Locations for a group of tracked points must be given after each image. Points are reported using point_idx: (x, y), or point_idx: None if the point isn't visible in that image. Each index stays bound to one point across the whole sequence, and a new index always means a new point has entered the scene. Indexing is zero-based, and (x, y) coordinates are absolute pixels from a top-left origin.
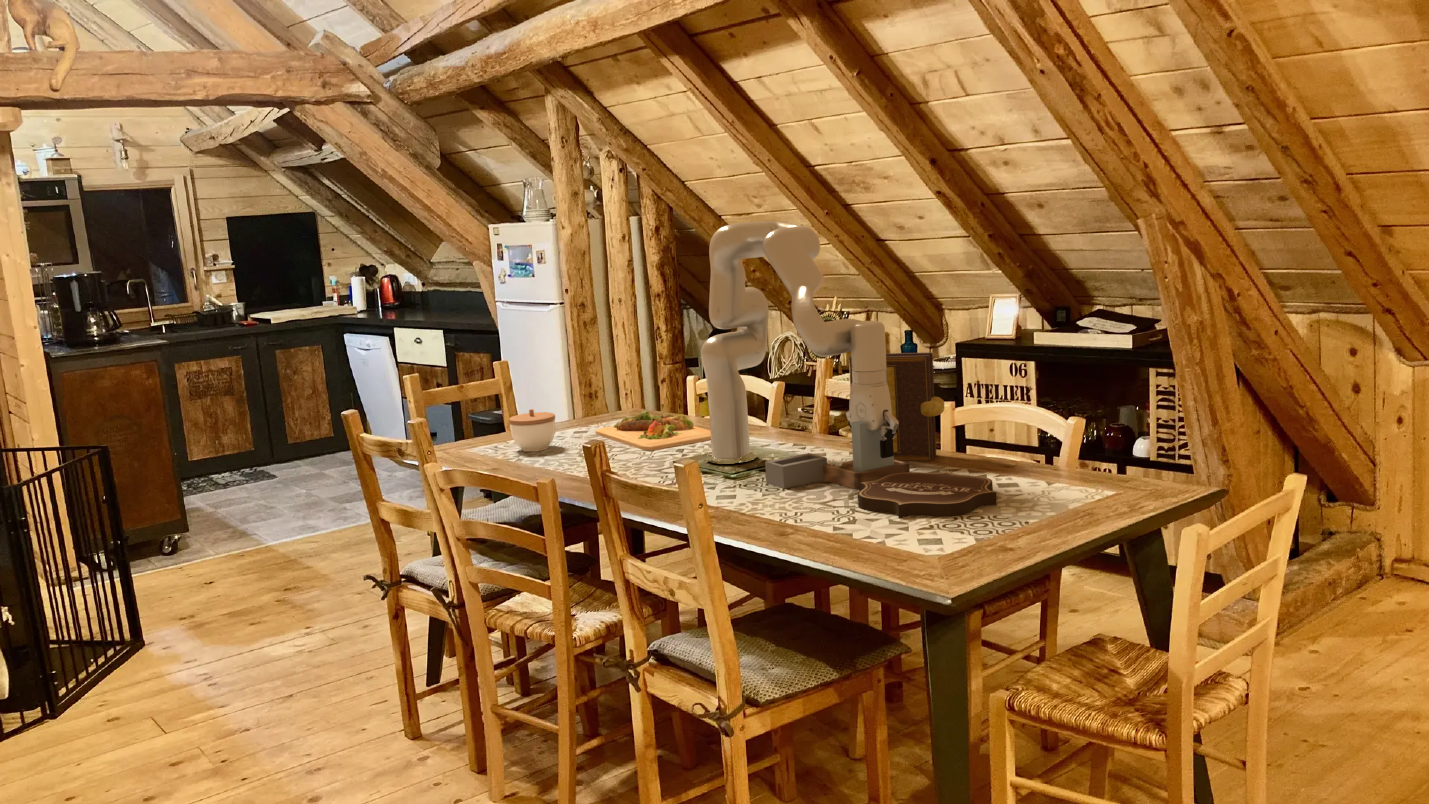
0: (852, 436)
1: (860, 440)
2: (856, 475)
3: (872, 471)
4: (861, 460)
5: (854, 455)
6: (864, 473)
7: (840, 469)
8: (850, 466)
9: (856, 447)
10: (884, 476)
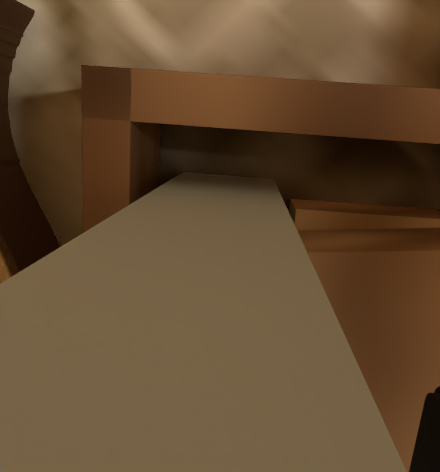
0: (316, 333)
1: (5, 281)
2: (101, 68)
3: (83, 231)
4: (136, 203)
5: (259, 219)
6: (85, 147)
7: (354, 92)
8: (376, 244)
9: (194, 242)
10: (2, 251)
